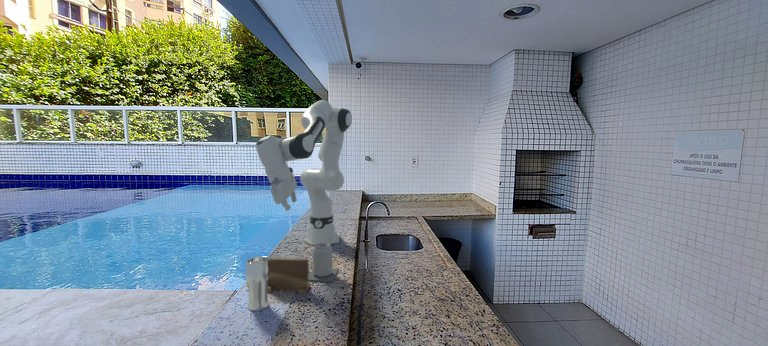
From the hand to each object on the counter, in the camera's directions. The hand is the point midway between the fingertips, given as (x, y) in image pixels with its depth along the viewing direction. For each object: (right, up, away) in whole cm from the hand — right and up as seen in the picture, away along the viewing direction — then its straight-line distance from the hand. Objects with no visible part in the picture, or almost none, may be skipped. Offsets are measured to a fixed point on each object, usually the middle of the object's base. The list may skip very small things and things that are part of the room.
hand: (291, 205), depth 129 cm
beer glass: (-1, -29, -32) cm, 43 cm away
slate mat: (+15, -27, -8) cm, 31 cm away
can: (+14, -26, -8) cm, 31 cm away
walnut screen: (+5, -28, -20) cm, 34 cm away
